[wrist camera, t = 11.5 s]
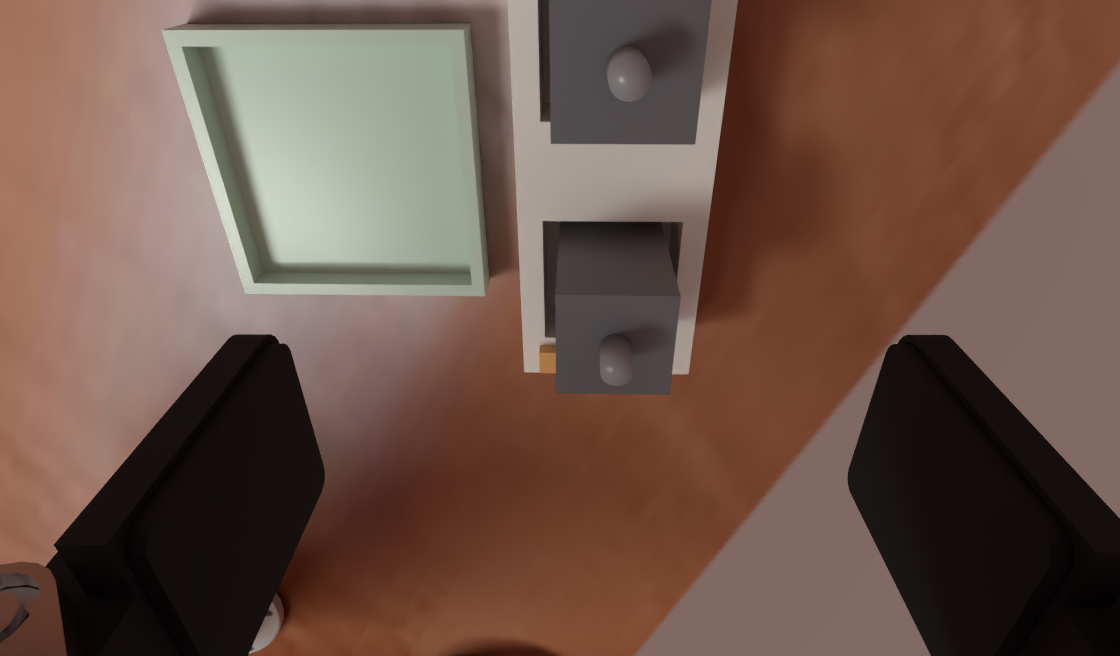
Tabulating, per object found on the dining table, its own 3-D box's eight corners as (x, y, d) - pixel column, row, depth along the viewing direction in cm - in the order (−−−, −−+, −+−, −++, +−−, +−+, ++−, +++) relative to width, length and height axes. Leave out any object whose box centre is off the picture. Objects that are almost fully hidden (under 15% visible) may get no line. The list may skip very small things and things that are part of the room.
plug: (557, -37, 24) (545, -16, 16) (676, -38, 24) (725, -16, 16) (558, 87, 26) (548, 160, 18) (666, 87, 26) (703, 161, 18)
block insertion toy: (529, 327, 34) (511, 471, 25) (513, -126, 23) (471, -155, 14) (677, 329, 34) (712, 474, 25) (730, -128, 23) (823, -158, 14)
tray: (260, 276, 33) (245, 293, 31) (185, 24, 26) (161, 30, 25) (489, 278, 33) (484, 296, 31) (470, 23, 26) (463, 29, 25)
